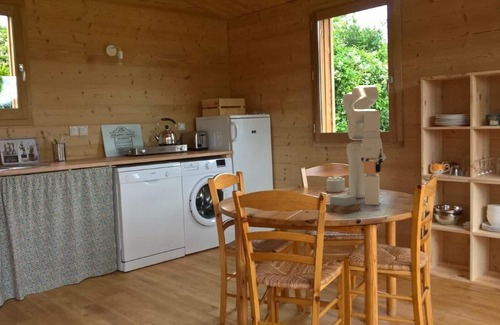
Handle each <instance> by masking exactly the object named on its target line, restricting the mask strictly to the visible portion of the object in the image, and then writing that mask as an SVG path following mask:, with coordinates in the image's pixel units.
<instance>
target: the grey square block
mask: <svg viewBox="0 0 500 325" xmlns="http://www.w3.org/2000/svg"><path fill="white" fill-rule="evenodd" d="M356 203H357V198H356V196H353V195H346V194H345V193H339V194H336V195H335V194H334V195H331V196H329V204H332V205H338V206H348V205H352V204H356Z"/></svg>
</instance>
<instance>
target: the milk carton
mask: <svg viewBox="0 0 500 325" xmlns="http://www.w3.org/2000/svg"><path fill="white" fill-rule="evenodd" d="M364 183H365V198H364V205H372V206H373V205H374V206H375V205H376V206H377V205H378V206H379V205H380V198H381V197H380V173H379V174H366V175H365V177H364Z"/></svg>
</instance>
